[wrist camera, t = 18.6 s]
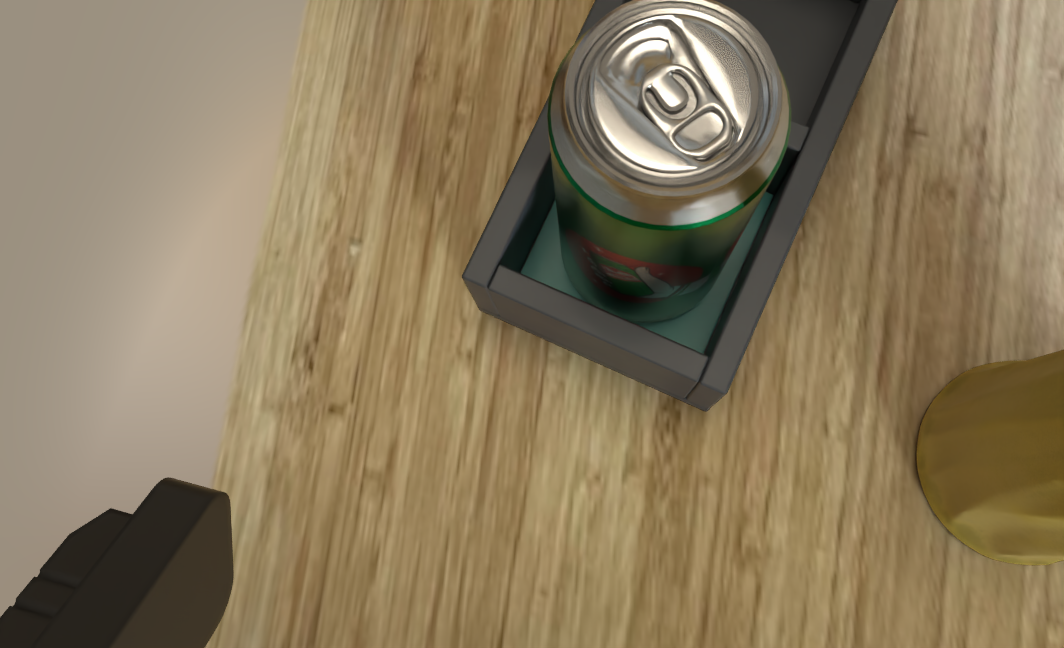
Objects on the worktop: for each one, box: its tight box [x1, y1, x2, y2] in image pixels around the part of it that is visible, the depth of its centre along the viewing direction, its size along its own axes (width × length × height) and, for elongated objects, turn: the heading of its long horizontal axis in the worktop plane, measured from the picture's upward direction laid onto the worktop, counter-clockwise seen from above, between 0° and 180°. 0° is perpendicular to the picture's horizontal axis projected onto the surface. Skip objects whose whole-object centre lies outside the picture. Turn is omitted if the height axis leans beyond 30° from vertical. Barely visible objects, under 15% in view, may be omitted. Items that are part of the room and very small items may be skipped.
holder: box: [462, 0, 898, 411], centre depth 31 cm, size 8×15×5 cm, turn 155°
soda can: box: [547, 0, 791, 323], centre depth 26 cm, size 5×5×12 cm
